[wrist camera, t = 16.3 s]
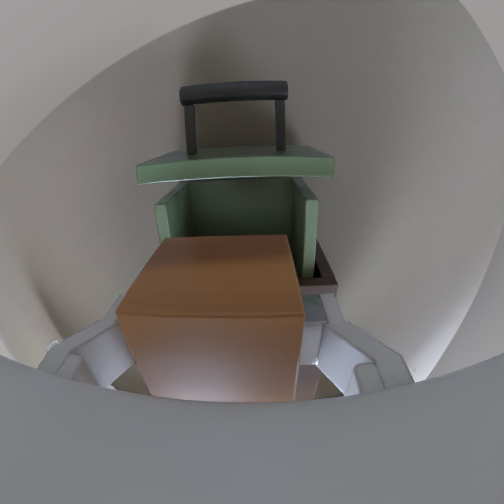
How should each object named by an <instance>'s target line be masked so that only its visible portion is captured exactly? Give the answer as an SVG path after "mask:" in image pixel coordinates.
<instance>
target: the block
mask: <svg viewBox="0 0 504 504" xmlns="http://www.w3.org/2000/svg"><path fill="white" fill-rule="evenodd" d="M115 314H116V316H117V319H118V322H119V324H120V327H121V329H122V332H123V334H124V337H125V339H126V342H127V344H128V347H129V349H130V351H131V354H132V356H133V358H134V360H135V363H136V365H137V367H138V369H139V371H140V373H141V376H142V378H143V380H144V382H145V384H146V386H147V388H148V390H149V392H150V394H151V396H158V397H166V398H175V399H185V400H198V401H214V402H284V401H295V395H296V388H297V381H298V374H299V367H300V359H301V351H302V343H303V335H304V326H305V316H306V313H305V308H304V304H303V300H302V295H301V291H300V287H299V282H298V278H297V274H296V270H295V266H294V262H293V258H292V254H291V250H290V246H289V242H288V238H287V235H241V236H205V237H176V238H165V239H164V240H163V241H162V243H161V244H160V245H159V247H158V248H157V250H156V251H155V252H154V254H153V255H152V257H151V258H150V259H149V261H148V262H147V264H146V265H145V266H144V268H143V269H142V271H141V272H140V274H139V275H138V277H137V278H136V280H135V281H134V282H133V284H132V285H131V287H130V288H129V290H128V291H127V293H126V294H125V296H124V297H123V299H122V301H121V302H120V304H119V305H118V307H117V308H116V311H115Z"/></svg>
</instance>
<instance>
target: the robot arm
mask: <svg viewBox="0 0 504 504" xmlns="http://www.w3.org/2000/svg"><path fill="white" fill-rule="evenodd" d="M124 296H125V295H124V294H122V295H119V297H118V298H117V300H116V301H115V302H114V304H113V305H112V307H111V308H110V310H109V311H108V313H107V314H106V316H105V317H104V319H103V321H102V320H99V321H97V322H95V323H93V324H92V325H90V326H88V327H86V328H85V329H83V330H81V331H79V332H78V333H76V334H74V335H72V336H71V337H69V338H67V339H65V340H64V341H62V342H60V343H59V344H57V345H55V346H53V347H52V348H51V349H50V350H49V352H48V353H47V355H46V356H45V358H44V359H43V361H42V362H41V364H40V365H39V367H38V368H37V369H35V368H32V367H30V366H27V365H24V364H21V363H19V362H16V361H13V360H11V359H8V358H6V357H4V356H1V355H0V504H504V353H503V354H500V355H498V356H495V357H493V358H491V359H488V360H485V361H483V362H480V363H478V364H475V365H472V366H469V367H466V368H463V369H460V370H457V371H455V372H451V373H448V374H445V375H441V376H438V377H434V378H431V379H427V380H423V381H420V382H416V383H415V382H414V380H413V378H412V376H411V373H410V371H409V369H408V367H407V365H406V363H405V361H404V359H403V357H402V356H401V355H400V354H398V353H397V352H395V351H393V350H392V349H390V348H389V347H387V346H386V345H384V344H383V343H381V342H380V341H378V340H376V339H375V338H373V337H372V336H370V335H369V334H367V333H366V332H364V331H363V330H361V329H359V328H358V327H356V326H355V325H353V324H352V323H350V322H345V320H344V317H343V315H342V312H341V310H340V307H339V305H338V302H337V300H336V298H335V295H334V294H333V293H324V294H315V295H302V300H303V304H304V308H305V313H306V316H305V326H304V335H303V343H302V351H301V359H300V366H302V365H317V367H318V368H319V369H320V370H321V371H322V372H323V373H324V374H325V375H326V376H327V377H328V378H329V379H330V380H331V381H332V382H333V384H334V385H335V386H336V387H337V388H338V389H339V390H340V391H341V392H342V393H343V394H344V396H341V397H333V398H324V399H313V400H301V401H284V402H214V401H198V400H185V399H175V398H166V397H158V396H150V395H143V394H137V393H131V392H125V391H120V390H114V389H109V388H107V387H108V386H109V385H110V384H111V383H112V382H114V381H115V380H116V379H117V378H118V377H119V376H120V375H121V374H123V373H124V372H125V371H126V370H127V369H128V368H129V367H130V366H131V365H133V364H134V363H135V360H134V358H133V356H132V354H131V351H130V349H129V347H128V344H127V342H126V339H125V337H124V334H123V332H122V329H121V327H120V324H119V322H118V319H117V316H116V314H115V311H116V308H117V307H118V305H119V304H120V302H121V301H122V299H123V297H124Z"/></svg>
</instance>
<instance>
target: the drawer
mask: <svg viewBox="0 0 504 504" xmlns="http://www.w3.org/2000/svg"><path fill="white" fill-rule="evenodd" d="M179 96H180V102H181V105H182V106H184V109H185V127H186V143H187V150H182V151H173V152H170V153H168V154H165V155H162V156H160V157H157V158H154V159H152V160H149V161H147V162H144V163H142V164H140V165H137V166H136V172H137V180H138V184H139V185H141V184H150V183H160V182H171V181H182V182H181V183H179V184H178V185H177V186H176V187H175V188H173V189H172V190H171V191H170V192H169V193H168V194H166V195H165V196H164V197H163V198H162V199H161V200H159V201H158V202H157V203H156V204H155V205H154V207H155V214H156V221H157V227H158V233H159V239H160V244H161V243H162V241H163V240H164V239H165V238H176V237H205V236H241V235H287V238H288V242H289V246H290V250H291V254H292V258H293V262H294V266H295V270H296V274H297V278H298V279H304V278H313V276H314V265H315V252H316V238H317V222H318V203H319V200H318V198H317V197H316V196H315V195H314V193H313V192H312V191H311V189H310V188H309V187H308V186H307V184H306V183H305V182H304V181H303V180H302V178H301V177H300V176H306V177H333V176H334V157H332V156H330V155H328V154H326V153H323V152H321V151H319V150H317V149H314V148H312V147H310V146H285V101H284V100H287V98H288V84H287V81H238V82H222V83H210V84H201V85H192V86H184V87H181V88H180V93H179ZM253 100H275V126H276V146H239V147H220V148H205V149H197V142H196V125H195V106H194V105H195V104H205V103H216V102H231V101H253ZM275 176H281V177H275ZM235 177H237V178H235ZM214 178H215V179H214Z"/></svg>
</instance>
